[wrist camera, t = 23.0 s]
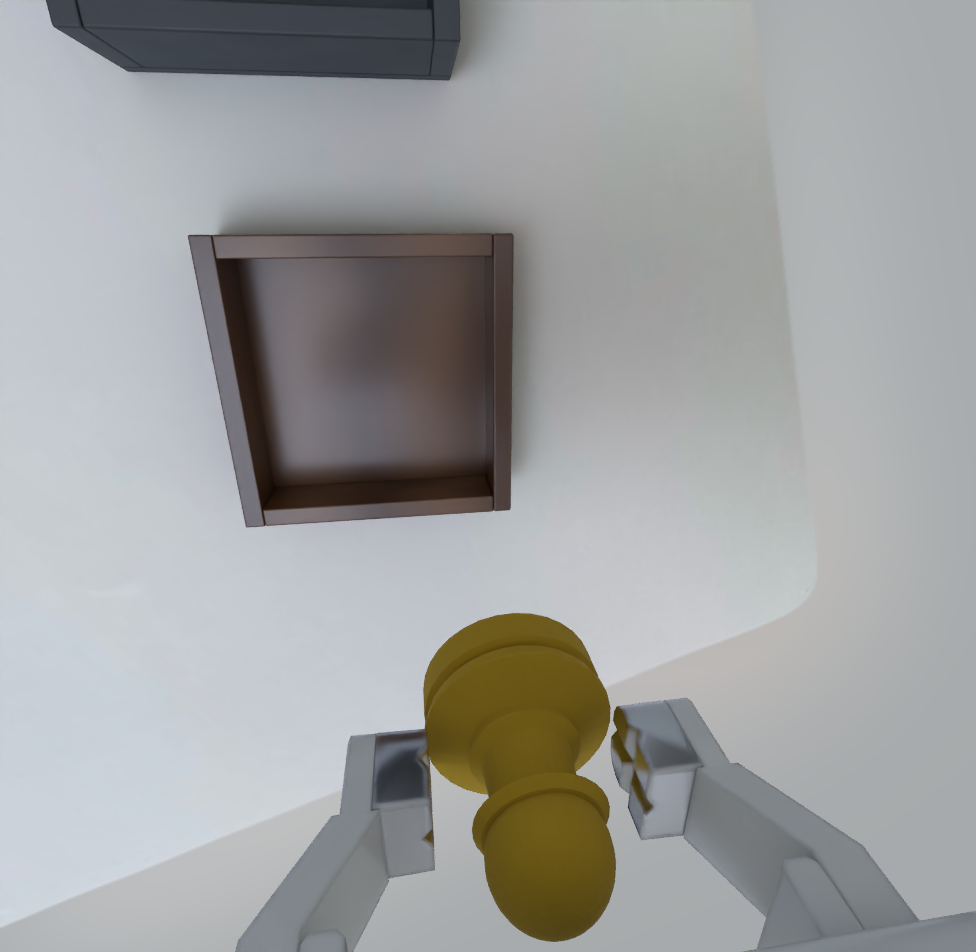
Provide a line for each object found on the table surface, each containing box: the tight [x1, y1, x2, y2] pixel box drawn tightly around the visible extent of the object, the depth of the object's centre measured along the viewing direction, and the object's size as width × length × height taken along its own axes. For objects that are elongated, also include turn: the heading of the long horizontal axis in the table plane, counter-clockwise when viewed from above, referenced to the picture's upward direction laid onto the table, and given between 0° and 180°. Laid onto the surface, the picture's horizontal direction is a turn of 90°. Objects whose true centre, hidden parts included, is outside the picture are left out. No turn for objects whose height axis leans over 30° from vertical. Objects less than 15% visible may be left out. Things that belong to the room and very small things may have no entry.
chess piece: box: [423, 613, 616, 942], centre depth 10 cm, size 4×4×5 cm
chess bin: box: [188, 233, 514, 527], centre depth 24 cm, size 12×12×3 cm
